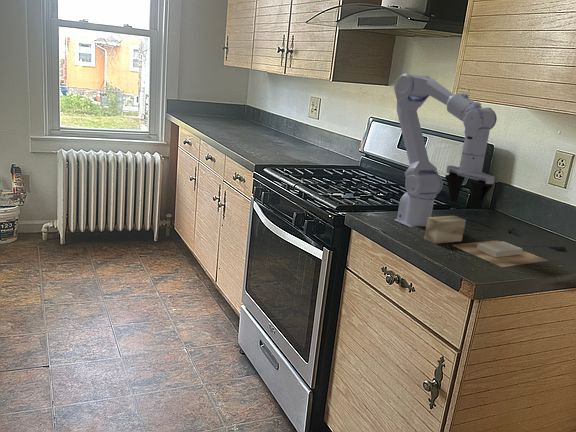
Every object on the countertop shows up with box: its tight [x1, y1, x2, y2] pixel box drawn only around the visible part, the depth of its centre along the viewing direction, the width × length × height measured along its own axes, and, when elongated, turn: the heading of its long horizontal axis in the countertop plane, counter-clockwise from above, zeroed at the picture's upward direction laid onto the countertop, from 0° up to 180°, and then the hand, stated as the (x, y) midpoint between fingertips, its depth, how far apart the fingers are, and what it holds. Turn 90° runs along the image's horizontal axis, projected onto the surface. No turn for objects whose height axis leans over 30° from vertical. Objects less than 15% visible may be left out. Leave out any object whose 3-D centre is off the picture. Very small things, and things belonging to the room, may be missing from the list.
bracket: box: [506, 228, 567, 252], centre depth 156 cm, size 14×15×3 cm
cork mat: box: [451, 240, 549, 268], centre depth 140 cm, size 16×18×1 cm
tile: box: [477, 240, 524, 257], centre depth 140 cm, size 2×10×6 cm
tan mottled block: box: [423, 215, 467, 245], centre depth 145 cm, size 4×10×7 cm, turn 121°
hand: (463, 204), depth 146 cm, fingers open, 7 cm apart
